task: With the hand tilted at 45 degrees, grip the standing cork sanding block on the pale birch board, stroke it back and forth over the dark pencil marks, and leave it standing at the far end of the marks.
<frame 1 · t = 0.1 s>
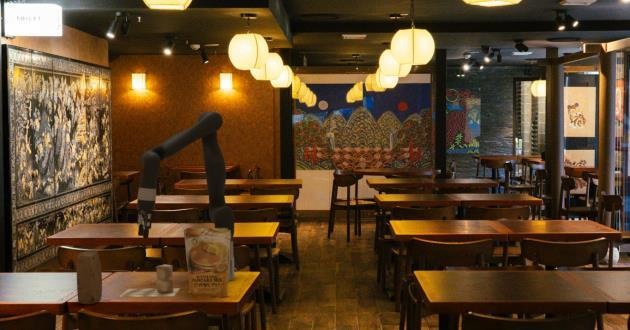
hand: (142, 237, 322), 22 cm above the table, tool pointing down, fingers open, 8 cm apart
birch board: (150, 295, 311), on the table
cork sanding block: (165, 292, 310), point 1 cm above the table, touching birch board
pancake mix bag: (208, 296, 309), on the table
block: (90, 302, 303), on the table
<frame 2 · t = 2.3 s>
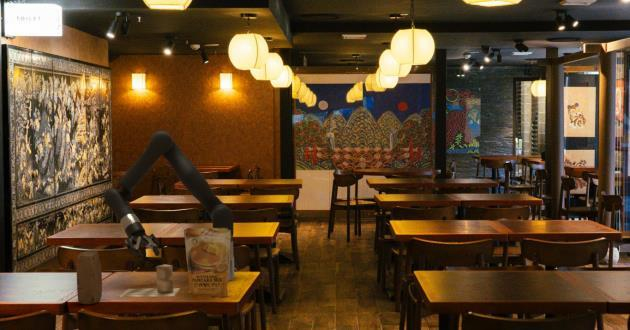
hand: (149, 256, 316), 15 cm above the table, tool tilted 45°, fingers open, 8 cm apart
nothing on the table moved.
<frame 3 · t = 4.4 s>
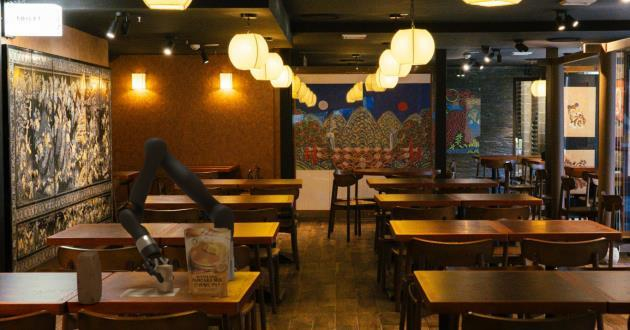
hand: (167, 280, 309), 7 cm above the table, tool tilted 45°, fingers closed on cork sanding block, 4 cm apart
cork sanding block: (165, 292, 310), point 2 cm above the table, touching birch board, gripper
everything else where it was.
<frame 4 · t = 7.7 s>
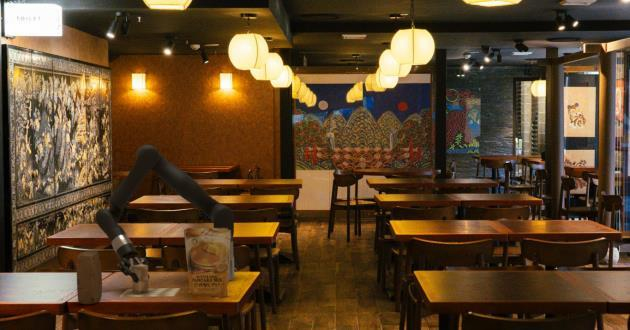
hand: (142, 280, 309), 7 cm above the table, tool tilted 45°, fingers closed on cork sanding block, 4 cm apart
cork sanding block: (140, 292, 311), point 2 cm above the table, touching gripper
everything else where it was.
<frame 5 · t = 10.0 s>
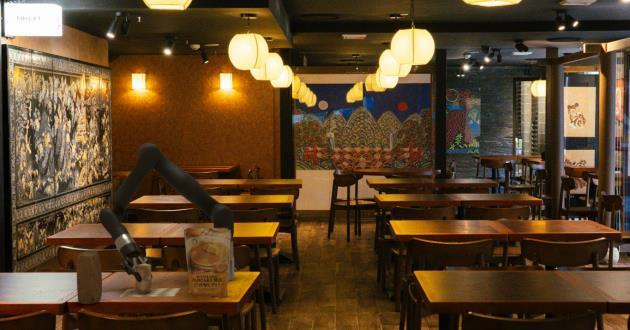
hand: (145, 279, 309), 7 cm above the table, tool tilted 45°, fingers closed on cork sanding block, 4 cm apart
cork sanding block: (143, 291, 310), point 2 cm above the table, touching gripper
everything else where it was.
when the fingers open (7 cm above the table, at t = 11.3 s): cork sanding block stays where it is, resting on birch board.
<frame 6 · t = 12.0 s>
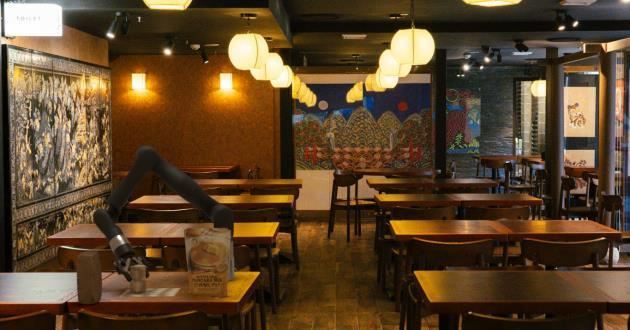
hand: (139, 279, 309), 7 cm above the table, tool tilted 45°, fingers open, 8 cm apart
cork sanding block: (138, 292, 310), point 2 cm above the table, touching birch board
everything else where it was.
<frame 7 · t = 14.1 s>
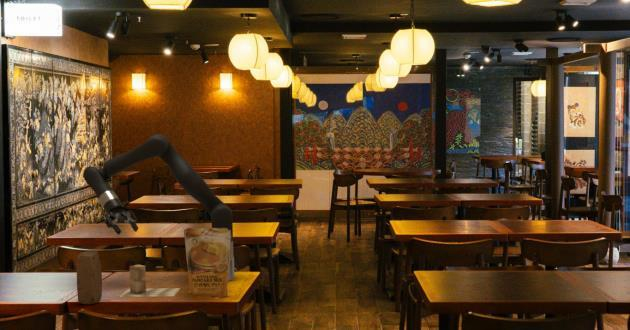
hand: (128, 231, 322), 25 cm above the table, tool tilted 45°, fingers open, 8 cm apart
nothing on the table moved.
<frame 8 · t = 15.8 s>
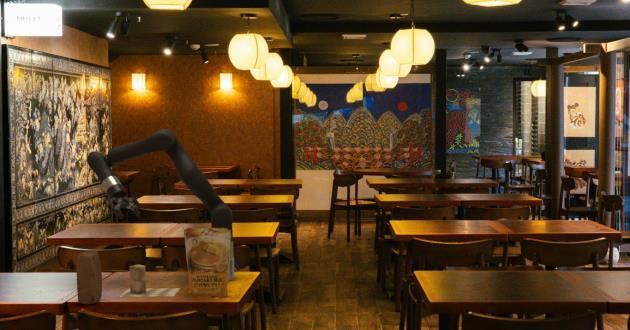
hand: (130, 217, 324), 31 cm above the table, tool tilted 45°, fingers open, 8 cm apart
nothing on the table moved.
at the end: cork sanding block inside the target area (0.1 cm from its centre), point 1.5 cm above the table; cork sanding block tilted 0°; cork sanding block moved 10.9 cm from its start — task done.
